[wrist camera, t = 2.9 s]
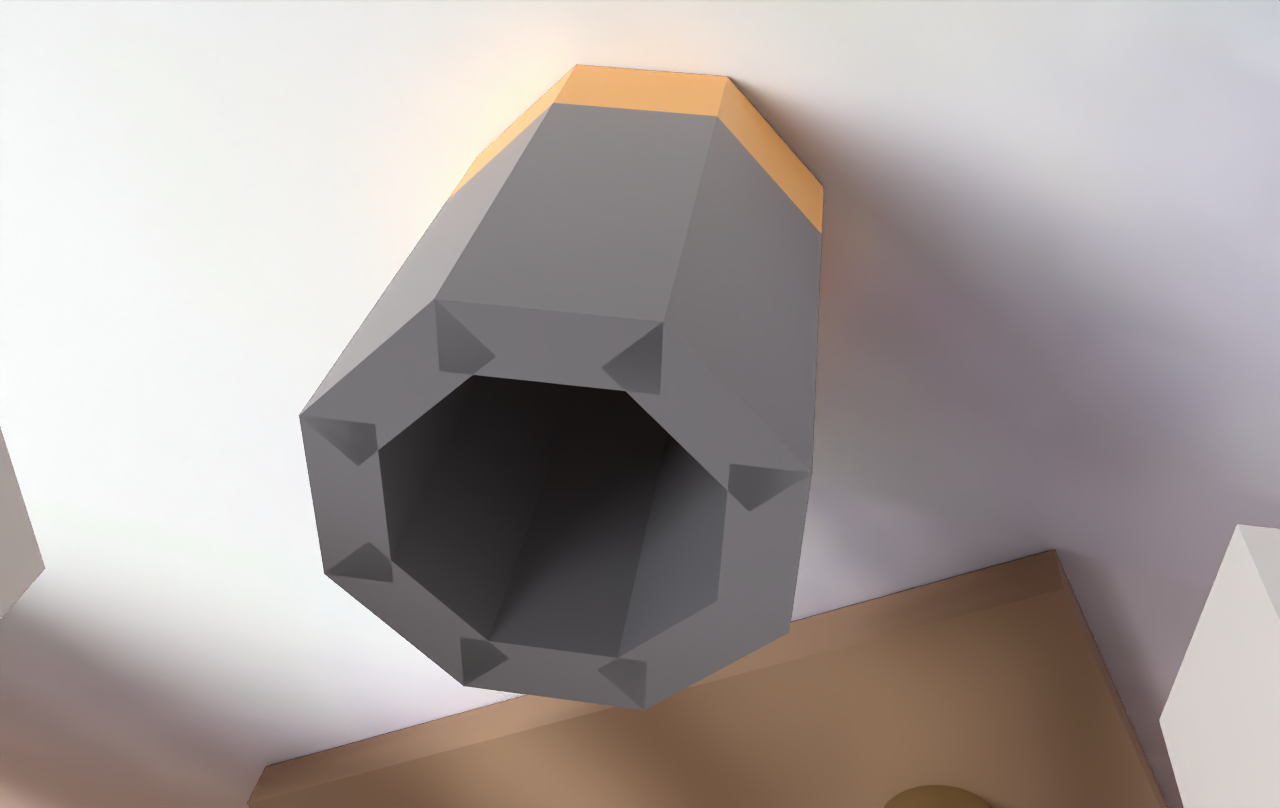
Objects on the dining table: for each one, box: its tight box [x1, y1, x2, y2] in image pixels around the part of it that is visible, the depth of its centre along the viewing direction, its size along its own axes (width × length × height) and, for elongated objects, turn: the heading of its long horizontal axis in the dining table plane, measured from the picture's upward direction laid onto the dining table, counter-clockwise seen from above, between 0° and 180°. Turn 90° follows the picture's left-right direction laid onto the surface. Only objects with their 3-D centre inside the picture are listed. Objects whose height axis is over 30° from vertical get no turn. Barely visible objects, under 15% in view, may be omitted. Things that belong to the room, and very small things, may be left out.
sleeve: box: [299, 65, 824, 710], centre depth 15 cm, size 5×5×7 cm
